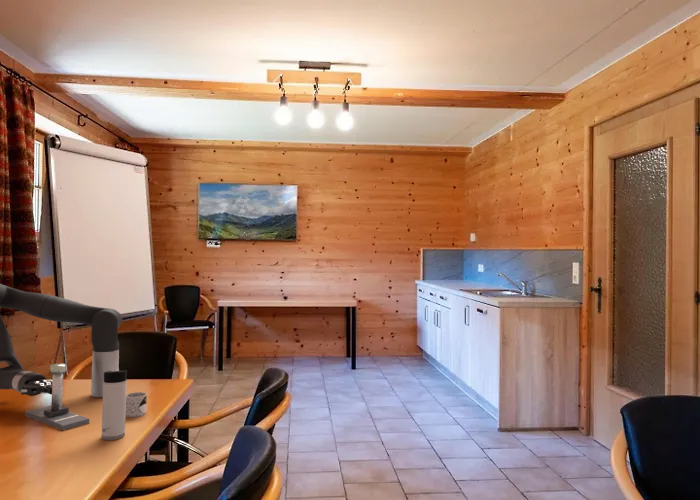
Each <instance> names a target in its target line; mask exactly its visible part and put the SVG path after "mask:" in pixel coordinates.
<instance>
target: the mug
mask: <svg viewBox="0 0 700 500" xmlns="http://www.w3.org/2000/svg"><path fill="white" fill-rule="evenodd" d="M147 395H148V394H147V392H143V391H137V392H136V391H135V392H129V393H126V416H125V418H139V417H142V416H143V417H144V416H145V415H146V414H147Z"/></svg>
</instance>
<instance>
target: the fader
mask: <svg viewBox="0 0 700 500" xmlns="http://www.w3.org/2000/svg"><path fill="white" fill-rule="evenodd" d="M66 371H67V363H53V364H50V367H49V373H50V374H51V375H52V378H51V379H52V380H51V381H52V395H51V405H50V406H51V409H47V410H44V415H45V416H47V417H53V416H57V415H61V414H65V413H69V412H70V406H69V407H68V406H66V405H63V394H64V393H63V391H64V389H63V388H64V387H63V385H64V373H66Z"/></svg>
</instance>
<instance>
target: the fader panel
mask: <svg viewBox="0 0 700 500" xmlns="http://www.w3.org/2000/svg"><path fill="white" fill-rule="evenodd" d="M47 409H51V405H48V406H43V407H39V408H35V409H29V410H26V411H25V415H24V416H25V417H27V418H30V419H33V420H36V421H37V422H41V423H43V424H46V425H48V426H50V427H53V428H55V429H58V430H61V431H67V430H70V429H74V428H77V427H81V426H85V425H88V424H90V418H89V417H86V416H83V415H80V414H78V413H75V412H72V411H69V413H65V414H61V415H57V416H53V417H47V416H45V415H44V410H47Z"/></svg>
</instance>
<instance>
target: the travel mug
mask: <svg viewBox="0 0 700 500" xmlns="http://www.w3.org/2000/svg"><path fill="white" fill-rule="evenodd" d="M127 373H128V370H127V369H125V370H124V369H123V370H122V369H119V371H114V372H112V371H108V372H104V382H103V383H104V384H103V397H102V408H101V409H102V410H101V411H102V413H101V414H102V415H101V416H102V417H101V418H102V419H101V439H102V440H103V441H115V440H119V439H121V438H124V436H125V435H126V395H127V386H128V385H127V384H128V382H127V381H128V380H127V376H128V375H127Z"/></svg>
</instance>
